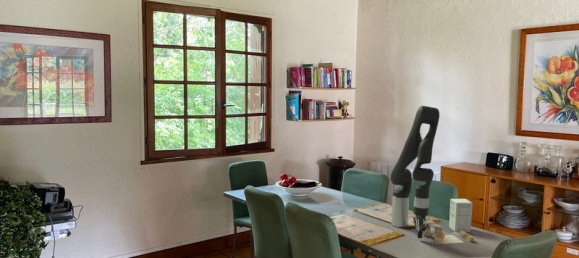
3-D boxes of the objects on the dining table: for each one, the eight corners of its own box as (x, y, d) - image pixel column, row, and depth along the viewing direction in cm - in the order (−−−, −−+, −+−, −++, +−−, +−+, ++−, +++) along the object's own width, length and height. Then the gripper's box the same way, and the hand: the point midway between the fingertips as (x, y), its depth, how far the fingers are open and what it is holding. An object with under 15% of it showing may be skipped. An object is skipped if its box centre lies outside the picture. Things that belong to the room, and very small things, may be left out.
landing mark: (431, 236, 247) (431, 235, 247) (452, 235, 249) (452, 234, 249) (442, 243, 235) (442, 243, 235) (463, 242, 237) (464, 242, 237)
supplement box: (464, 226, 265) (466, 198, 263) (471, 232, 255) (473, 202, 254) (448, 226, 264) (450, 198, 262) (454, 231, 255) (456, 202, 253)
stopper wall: (459, 235, 249) (459, 230, 249) (462, 235, 249) (462, 230, 249) (470, 242, 238) (470, 237, 238) (473, 242, 238) (474, 237, 238)
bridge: (422, 235, 247) (423, 219, 246) (428, 235, 248) (428, 218, 247) (435, 244, 233) (436, 227, 232) (441, 244, 234) (442, 227, 233)
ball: (442, 237, 243) (433, 241, 242) (439, 227, 243) (430, 231, 242) (447, 239, 237) (438, 243, 236) (444, 229, 237) (435, 232, 236)
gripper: (434, 208, 231) (432, 241, 233) (422, 202, 244) (420, 233, 246) (420, 209, 230) (418, 242, 232) (409, 202, 243) (407, 233, 245)
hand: (419, 237), depth 239 cm, fingers closed
